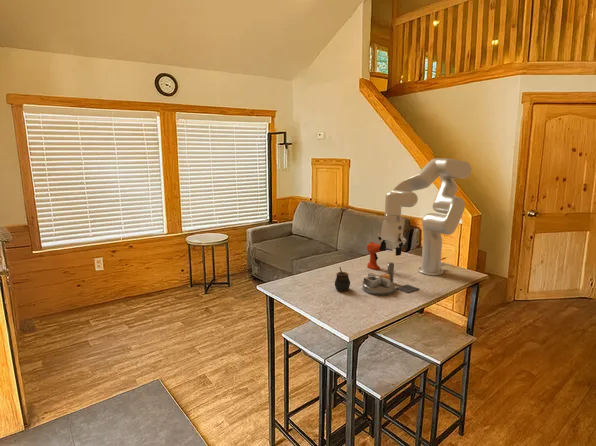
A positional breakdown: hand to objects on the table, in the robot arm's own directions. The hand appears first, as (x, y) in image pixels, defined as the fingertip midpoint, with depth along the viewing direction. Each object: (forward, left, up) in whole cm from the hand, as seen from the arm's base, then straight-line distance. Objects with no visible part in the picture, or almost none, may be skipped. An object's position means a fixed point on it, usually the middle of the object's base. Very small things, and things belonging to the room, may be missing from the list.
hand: (390, 252), depth 181 cm
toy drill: (-11, -17, -16) cm, 25 cm away
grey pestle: (-1, 0, -15) cm, 15 cm away
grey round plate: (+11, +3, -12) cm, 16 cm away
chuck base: (+10, +3, -15) cm, 19 cm away
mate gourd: (+24, -7, -16) cm, 30 cm away
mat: (-1, +11, -15) cm, 19 cm away
